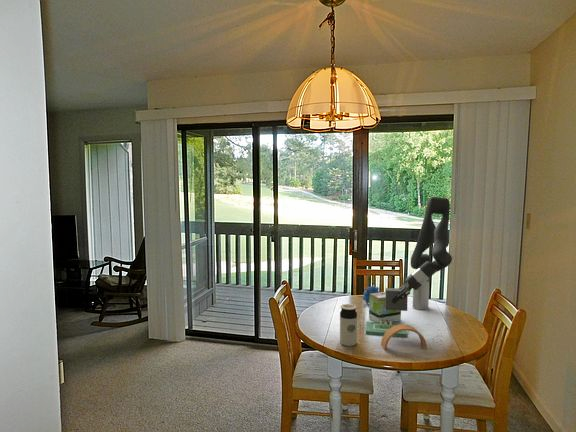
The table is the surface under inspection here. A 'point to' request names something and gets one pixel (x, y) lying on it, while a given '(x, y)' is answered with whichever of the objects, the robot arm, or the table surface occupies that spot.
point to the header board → (382, 328)
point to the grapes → (370, 292)
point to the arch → (397, 329)
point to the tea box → (381, 309)
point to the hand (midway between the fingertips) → (392, 300)
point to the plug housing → (399, 305)
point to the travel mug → (348, 325)
